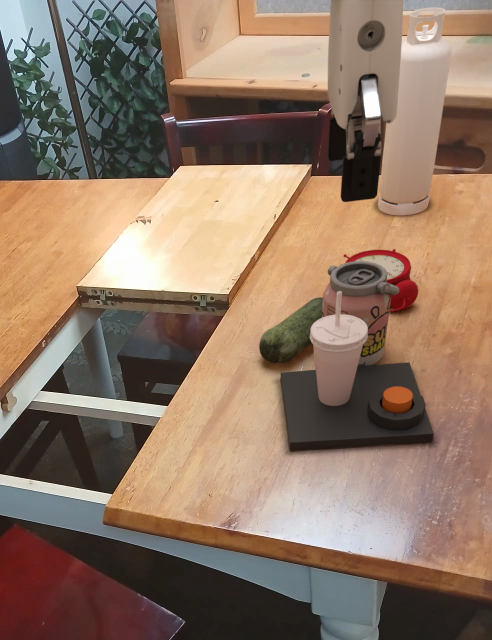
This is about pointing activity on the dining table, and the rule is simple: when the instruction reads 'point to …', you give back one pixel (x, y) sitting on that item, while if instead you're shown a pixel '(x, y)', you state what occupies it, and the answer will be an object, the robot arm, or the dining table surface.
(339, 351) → the smoothie
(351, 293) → the beverage can
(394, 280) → the alarm clock
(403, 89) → the bottle
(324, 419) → the grey button plate
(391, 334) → the dining table surface
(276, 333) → the vegetable
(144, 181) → the dining table surface
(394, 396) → the button
